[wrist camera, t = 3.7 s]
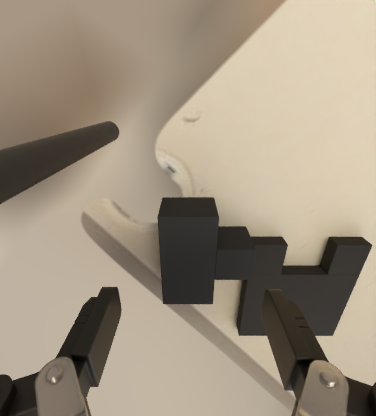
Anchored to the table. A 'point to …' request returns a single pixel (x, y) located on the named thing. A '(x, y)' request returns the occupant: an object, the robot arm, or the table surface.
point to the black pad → (303, 283)
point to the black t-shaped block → (199, 250)
